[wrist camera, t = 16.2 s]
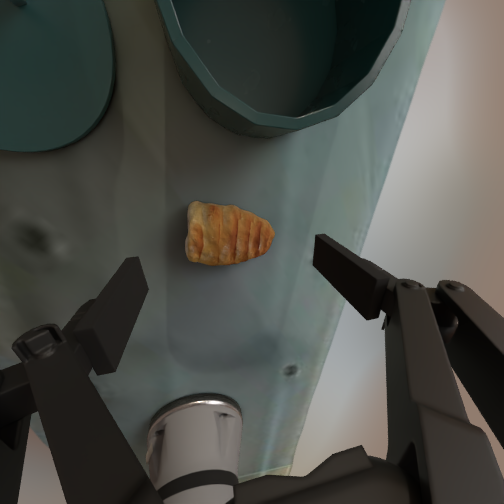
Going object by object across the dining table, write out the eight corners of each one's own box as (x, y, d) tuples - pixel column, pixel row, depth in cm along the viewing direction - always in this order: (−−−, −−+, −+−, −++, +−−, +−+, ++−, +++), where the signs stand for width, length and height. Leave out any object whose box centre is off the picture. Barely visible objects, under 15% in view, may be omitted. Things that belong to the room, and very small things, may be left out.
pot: (347, 110, 21) (415, 88, 14) (210, 158, 20) (214, 160, 13) (328, -135, 14) (440, -392, 8) (123, -77, 13) (44, -307, 7)
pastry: (274, 206, 23) (286, 215, 20) (264, 260, 26) (274, 276, 22) (185, 197, 21) (182, 206, 18) (185, 258, 24) (182, 275, 20)
